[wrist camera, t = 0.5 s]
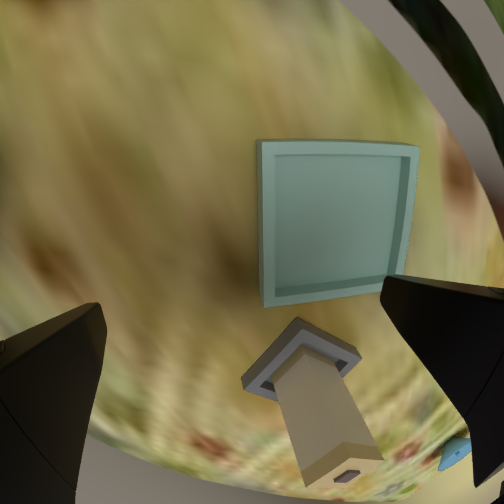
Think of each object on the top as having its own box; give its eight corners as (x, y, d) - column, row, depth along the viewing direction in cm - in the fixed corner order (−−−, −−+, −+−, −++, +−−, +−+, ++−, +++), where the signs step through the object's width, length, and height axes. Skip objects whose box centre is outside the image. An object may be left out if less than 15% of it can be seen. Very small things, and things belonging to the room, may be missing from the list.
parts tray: (259, 295, 25) (263, 308, 23) (256, 139, 20) (261, 142, 19) (389, 277, 27) (399, 287, 25) (405, 143, 22) (419, 146, 20)
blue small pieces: (437, 458, 52) (453, 486, 44) (422, 454, 48) (441, 486, 40) (498, 405, 49) (518, 431, 41) (491, 394, 45) (515, 424, 36)
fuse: (270, 374, 28) (306, 490, 17) (299, 343, 27) (351, 461, 16) (302, 386, 30) (344, 491, 19) (331, 358, 29) (386, 463, 18)
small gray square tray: (234, 383, 29) (237, 396, 27) (296, 316, 27) (302, 328, 25) (296, 404, 32) (300, 415, 30) (355, 347, 30) (362, 358, 28)
